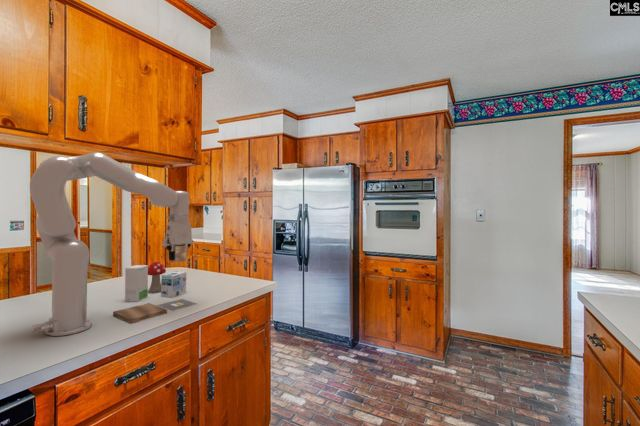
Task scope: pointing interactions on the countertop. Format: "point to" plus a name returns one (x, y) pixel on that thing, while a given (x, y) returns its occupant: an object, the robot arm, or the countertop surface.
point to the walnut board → (139, 312)
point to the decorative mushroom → (156, 276)
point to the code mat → (177, 304)
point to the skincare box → (136, 283)
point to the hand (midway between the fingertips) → (177, 259)
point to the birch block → (180, 253)
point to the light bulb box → (173, 284)
